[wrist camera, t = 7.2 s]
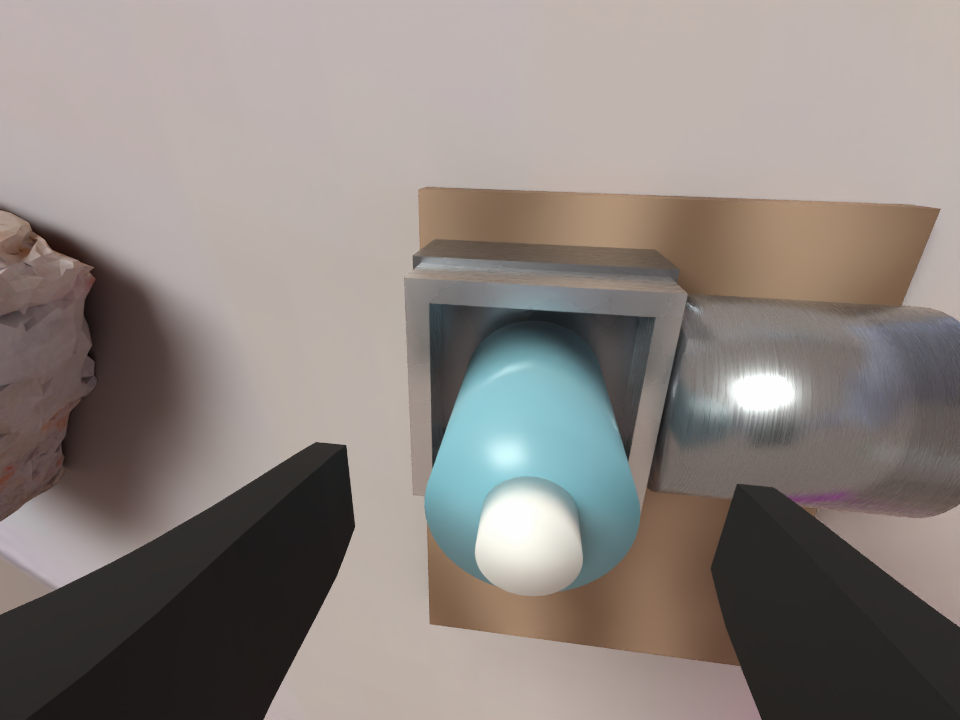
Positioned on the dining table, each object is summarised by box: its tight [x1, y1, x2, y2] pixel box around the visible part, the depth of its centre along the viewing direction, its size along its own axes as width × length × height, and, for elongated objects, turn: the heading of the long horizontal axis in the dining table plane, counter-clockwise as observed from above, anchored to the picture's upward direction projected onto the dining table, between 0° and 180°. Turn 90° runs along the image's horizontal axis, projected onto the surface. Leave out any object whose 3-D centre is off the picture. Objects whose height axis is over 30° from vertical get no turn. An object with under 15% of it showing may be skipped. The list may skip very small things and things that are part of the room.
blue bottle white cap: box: [425, 321, 640, 596], centre depth 11 cm, size 4×4×6 cm
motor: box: [404, 239, 960, 518], centre depth 13 cm, size 14×7×6 cm, turn 89°
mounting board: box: [418, 187, 940, 666], centre depth 18 cm, size 15×20×1 cm
